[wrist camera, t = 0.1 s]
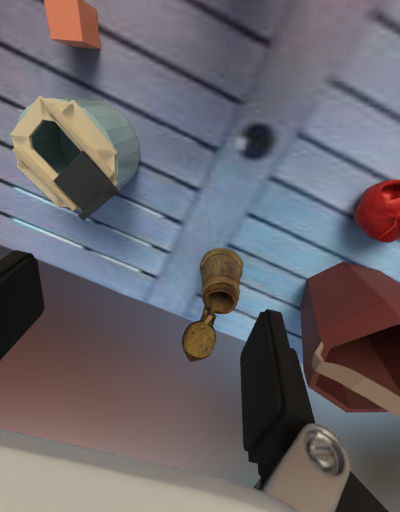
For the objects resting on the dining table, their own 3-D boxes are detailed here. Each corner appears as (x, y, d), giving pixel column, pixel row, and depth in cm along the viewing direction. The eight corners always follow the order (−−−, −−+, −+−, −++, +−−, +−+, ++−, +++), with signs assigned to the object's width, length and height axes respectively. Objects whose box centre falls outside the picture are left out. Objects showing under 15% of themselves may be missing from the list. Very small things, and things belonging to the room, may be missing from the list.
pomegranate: (384, 237, 47) (416, 265, 39) (336, 218, 46) (358, 242, 38) (427, 187, 41) (474, 207, 33) (374, 165, 41) (409, 180, 33)
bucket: (263, 291, 56) (283, 407, 34) (354, 221, 46) (462, 324, 24) (334, 345, 62) (389, 472, 41) (428, 294, 52) (566, 428, 30)
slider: (54, 180, 36) (41, 185, 33) (83, 150, 33) (71, 154, 31) (90, 215, 38) (80, 223, 36) (119, 190, 36) (110, 197, 33)
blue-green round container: (41, 138, 44) (-4, 147, 35) (94, 76, 38) (54, 69, 30) (102, 204, 49) (76, 225, 40) (156, 157, 43) (138, 171, 35)
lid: (1, 148, 35) (-7, 150, 34) (56, 77, 30) (48, 76, 29) (75, 220, 40) (70, 224, 39) (132, 170, 35) (129, 172, 34)
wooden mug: (183, 285, 57) (165, 351, 42) (214, 240, 50) (207, 300, 35) (216, 302, 59) (211, 372, 43) (251, 261, 52) (260, 327, 37)
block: (72, 46, 37) (50, 39, 32) (66, 7, 35) (42, -7, 30) (100, 49, 36) (82, 41, 32) (96, 9, 34) (76, -5, 30)
